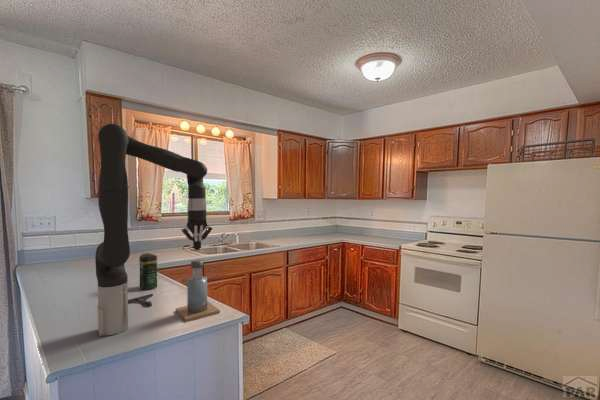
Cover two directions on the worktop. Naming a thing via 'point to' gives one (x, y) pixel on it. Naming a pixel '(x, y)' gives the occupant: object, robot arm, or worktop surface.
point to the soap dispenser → (197, 299)
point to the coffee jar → (148, 271)
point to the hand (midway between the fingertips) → (197, 249)
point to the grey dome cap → (197, 264)
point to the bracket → (143, 301)
